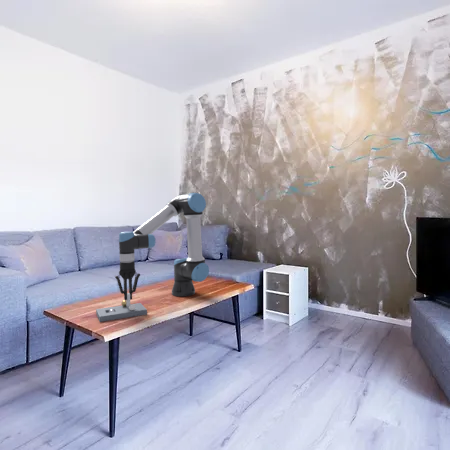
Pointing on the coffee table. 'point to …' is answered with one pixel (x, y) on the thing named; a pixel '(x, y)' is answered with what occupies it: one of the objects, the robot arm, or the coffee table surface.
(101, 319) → the board
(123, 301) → the brass ball
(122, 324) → the coffee table surface
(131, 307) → the white ball
